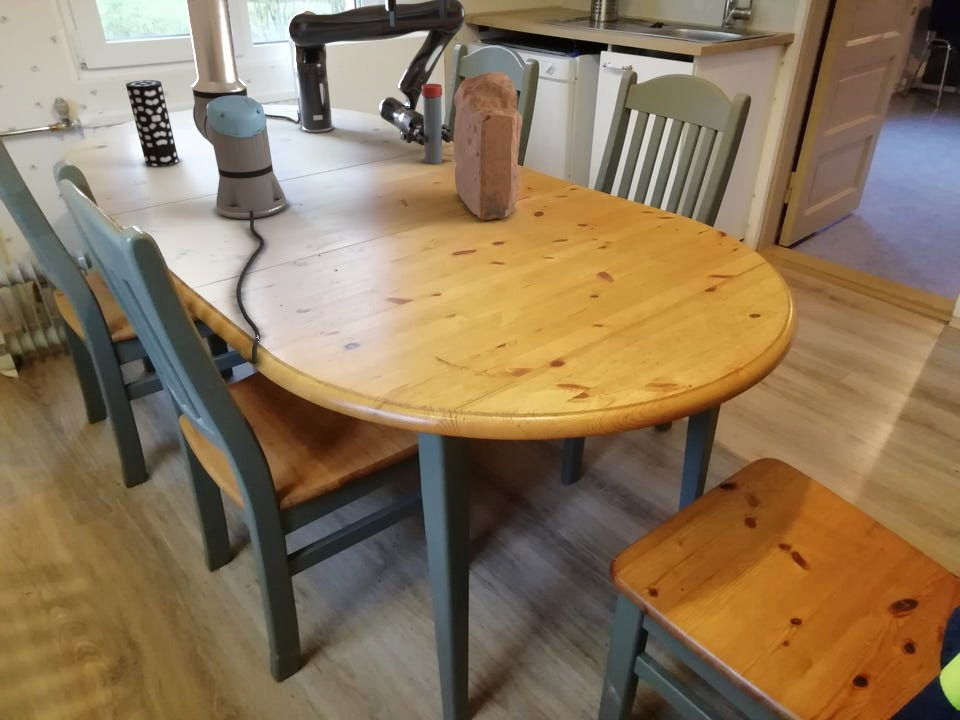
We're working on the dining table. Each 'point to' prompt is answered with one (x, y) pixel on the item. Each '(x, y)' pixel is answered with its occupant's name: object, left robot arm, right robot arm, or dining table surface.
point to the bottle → (432, 129)
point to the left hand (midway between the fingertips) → (419, 24)
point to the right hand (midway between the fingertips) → (436, 140)
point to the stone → (487, 145)
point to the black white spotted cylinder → (152, 122)
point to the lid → (431, 90)
